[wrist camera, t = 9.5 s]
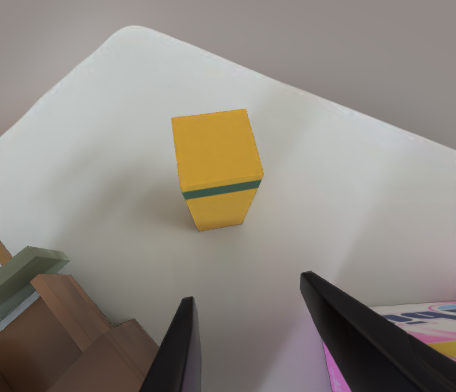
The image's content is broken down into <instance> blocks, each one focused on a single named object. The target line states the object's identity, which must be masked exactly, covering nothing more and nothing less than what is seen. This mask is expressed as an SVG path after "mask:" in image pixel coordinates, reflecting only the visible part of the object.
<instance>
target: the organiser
mask: <svg viewBox="0 0 456 392" xmlns="http://www.w3.org/2000/svg"><path fill="white" fill-rule="evenodd" d="M158 350H159V347H158V346H157V344H156V343H155V342H154V341H153V340H152V339H151V337H150V336H149V335H148V334H147V333H146V332H145V330H144V329H143V328H142V327H141V326H140V325H139V323H138V322H137V321H136V320H135V319H132V320H130V321H128V322H125V323H123V324H121V325H119V326H117V327H115V328H113V329H111V330H109V331H106V332H104V333H102V334H101V335H100V336H99V337H98V338H97V339H96V340H95V341H94V342H93V343H92V344H91V345H90V346H89V347H88V348H87V350H86V351H85V352H84V353H83V354H82V355H81V356H80V357H79V358H78V359H77V360H76V361H75V362H74V363H73V364H72V365H71V366H70V367H69V368H68V369H67V370H66V371H65V372H64V373H63V374H62V375H61V376H60V377H59V379H58V380H57V381H56V382H55V383H54V384H53V385H52V386H51V387H50V388H49V389H48V390H47V391H46V392H139V390H140V388H141V386H142V384H143V381H144V379H145V377H146V375H147V373H148V371H149V369H150V367H151V365H152V362H153V360H154V358H155V356H156V354H157V352H158Z"/></svg>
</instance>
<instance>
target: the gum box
mask: <svg viewBox="0 0 456 392" xmlns="http://www.w3.org/2000/svg"><path fill="white" fill-rule="evenodd" d="M369 308H370V309H372V310H373V311H375V312H376V313H378V314H380V315H381V316H383V317H384V318H386V319H387V320H389V321H391V322H392V323H394V324H395V325H397V326H398V327H400V328H402V329H403V330H405V331H406V332H407V334H408V333H409V334H411V335H413V336H414V337H416V338H417V339H419V340H421V341H422V342H424V343H425V344H427V345H429V346H430V347H432V348H434V349H435V350H437V351H438V352H440V353H442V354H443V355H445V356H447V357H448V358H450V359H452V360H454V361H455V362H456V301H447V302H435V303H422V304H404V305H391V306H375V307H369ZM323 344H324V351H325V355H326V362H327V366H328V371H329V376H330V381H331V386H332V391H333V392H351V390H350V388H349V387H348V385H347V383H346V381H345V379H344V378H343V376H342V374H341V372H340V370H339V369H338V367H337V365H336V363H335V361H334V359H333V358H332V356H331V354H330V352H329V350H328V349H327V347H326V345H325V343H324V341H323Z"/></svg>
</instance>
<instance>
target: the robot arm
mask: <svg viewBox="0 0 456 392" xmlns="http://www.w3.org/2000/svg"><path fill="white" fill-rule="evenodd" d="M300 290H301V293H302V296H303V298H304V300H305V303H306V305H307V307H308V310H309V312H310V314H311V317H312V319H313V321H314V323H315V326H316V328H317V330H318V332H319V334H320V336H321V338H322V340H323V341H324V343H325V345H326V347H327V349H328V350H329V352H330V354H331V356H332V358H333V359H334V361H335V363H336V365H337V367H338V369H339V370H340V372H341V374H342V376H343V378H344V379H345V381H346V383H347V385H348V387H349V388H350V390H351V392H456V362H455V361H454V360H452V359H450V358H448V357H447V356H445V355H443V354H442V353H440V352H438V351H437V350H435V349H434V348H432V347H430V346H429V345H427V344H425V343H424V342H422V341H421V340H419V339H417V338H416V337H414V336H413V335H411V334H409V333H408V334H407V332H406V331H405V330H403V329H402V328H400V327H398V326H397V325H395V324H394V323H392V322H391V321H389V320H387V319H386V318H384V317H383V316H381V315H380V314H378V313H376V312H375V311H373V310H372V309H370V308H369V307H367V306H365V305H364V304H362V303H361V302H359V301H358V300H356V299H354V298H353V297H351V296H350V295H348V294H347V293H345V292H343V291H342V290H340V289H339V288H337V287H336V286H334V285H332V284H331V283H329V282H328V281H326V280H325V279H323V278H321V277H320V276H318V275H317V274H315V273H314V272H312V271H307V272H303V273H301V276H300ZM201 372H202V359H201V345H200V333H199V322H198V312H197V308H196V304H195V299H194V297H193V296H191V297H186V298H183V299H182V301H181V303H180V305H179V307H178V310H177V312H176V314H175V316H174V318H173V320H172V322H171V324H170V326H169V329H168V331H167V333H166V335H165V337H164V339H163V341H162V343H161V346H160V348H159V350H158V352H157V354H156V356H155V358H154V360H153V362H152V365H151V367H150V369H149V371H148V373H147V375H146V377H145V379H144V381H143V384H142V386H141V388H140V390H139V392H201Z"/></svg>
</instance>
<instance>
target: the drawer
mask: <svg viewBox="0 0 456 392" xmlns="http://www.w3.org/2000/svg"><path fill="white" fill-rule="evenodd" d="M69 261H70V260H69V259H68V257H67V256H66V255H65V254H64V253H63V252H60V251H54V250H48V249H42V248H36V247H30V246H27V247H26V248H24V249H23V250H22V251H21V252H19V253H18V254H17V255H16V256H14V257H12V255H11V254H10V253H9V251H8V250H7V249H6V248H5V246H4V245H3V244H2V242H1V241H0V263H1V264H2V265H3V266H2V267H1V268H0V321H1V320H3V319H4V318H5V317H6V316H7V315H8V314H9V313H11V312H12V311H13V310H14V309H15V308H16V307H17V306H19V305H20V304H21V303H22V302H23V301H24V300H25V299H27V298H28V297H29V296H30V295H31V294H32V293H34V292H35V291H37V292H38V293H39V295H40V297H39V298H38V299H37V300H36V301H35V302H34V303H33V304H31V305H30V306H29V307H28V308H27V309H26V310H25V311H24V312H22V313H21V314H20V315H19V316H18V317H17V318H16V319H15V320H13V321H12V322H11V323H10V324H9V325H8V326H7V327H6V328H4V329H3V330H2V331H1V332H0V392H46V391H47V390H48V389H49V388H50V387H51V386H52V385H53V384H54V383H55V382H56V381H57V380H58V379H59V377H60V376H61V375H62V374H63V373H64V372H65V371H66V370H67V369H68V368H69V367H70V366H71V365H72V364H73V363H74V362H75V361H76V360H77V359H78V358H79V357H80V356H81V355H82V354H83V353H84V352H85V351H86V350H87V348H88V347H89V346H90V345H91V344H92V343H93V342H94V341H95V340H96V339H97V338H98V337H99V336H100V335H101V334H102V333H104V332H106V331H109V330H111V329H113V328H114V327H113V326H112V325H111V323H110V322H109V321H108V320H107V318H106V317H105V316H104V315H103V314H102V312H101V311H100V310H99V309H98V308H97V306H96V305H95V304H94V303H93V301H92V300H91V299H90V298H89V297H88V295H87V294H86V293H85V292H84V291H83V289H82V288H81V287H80V286H79V285H78V283H77V282H76V281H75V280H74V278H73V277H72V276H71V275H63V274H55V273H56V272H58V271H59V270H60V269H61V268H62V267H63V266H64V265H66V264H67V263H68V262H69Z"/></svg>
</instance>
